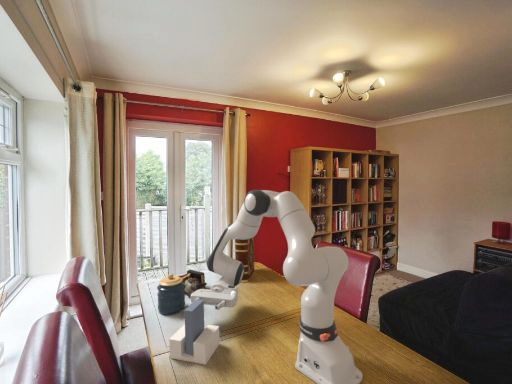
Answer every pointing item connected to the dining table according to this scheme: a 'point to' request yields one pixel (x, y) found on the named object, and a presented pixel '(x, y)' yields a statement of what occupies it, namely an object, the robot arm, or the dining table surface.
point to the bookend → (193, 281)
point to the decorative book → (245, 256)
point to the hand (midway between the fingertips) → (206, 306)
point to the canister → (171, 295)
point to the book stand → (195, 345)
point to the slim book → (193, 324)
